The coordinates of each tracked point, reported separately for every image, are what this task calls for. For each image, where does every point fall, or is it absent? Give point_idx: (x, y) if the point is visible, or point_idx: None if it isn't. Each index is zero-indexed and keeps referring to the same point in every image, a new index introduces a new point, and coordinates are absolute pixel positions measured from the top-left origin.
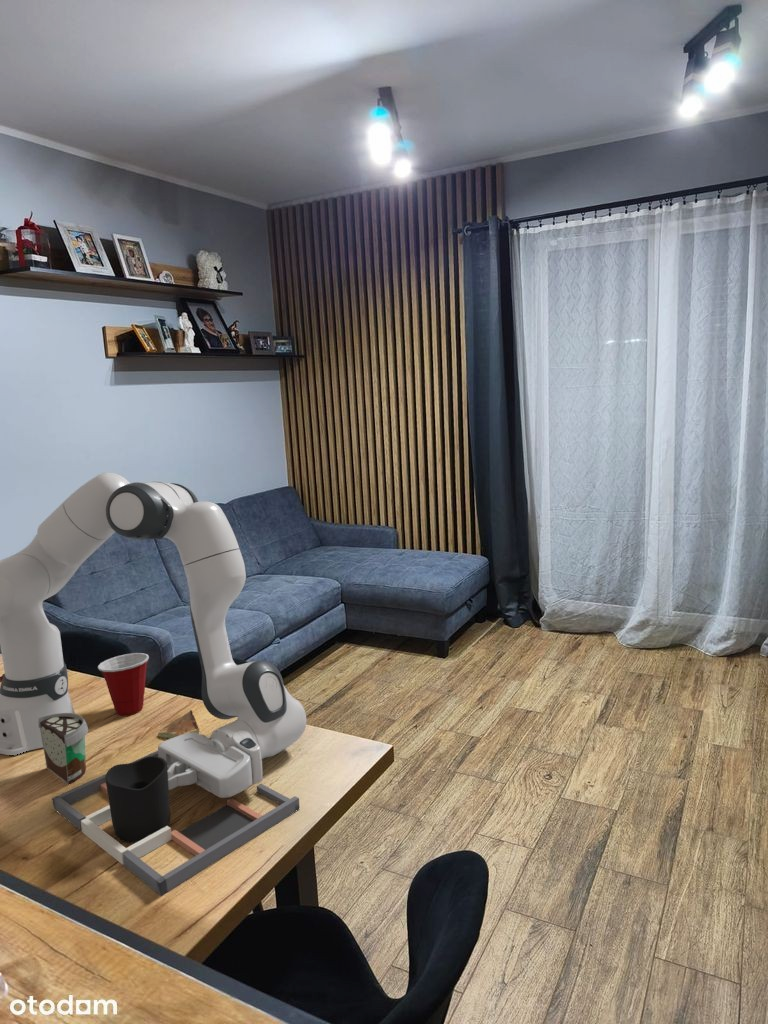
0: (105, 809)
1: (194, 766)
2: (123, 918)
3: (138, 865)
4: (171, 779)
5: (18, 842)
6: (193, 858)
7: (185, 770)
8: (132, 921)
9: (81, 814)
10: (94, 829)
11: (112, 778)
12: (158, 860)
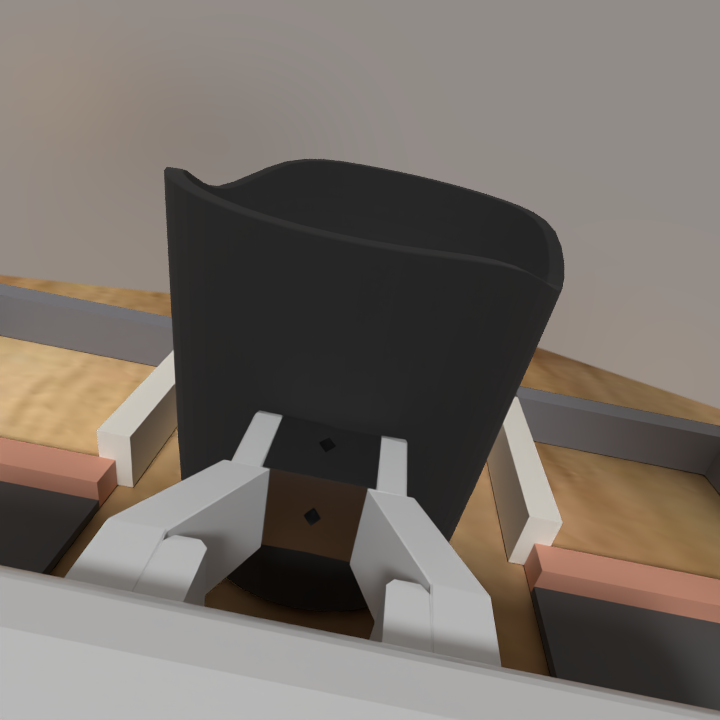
0: (514, 438)
1: (67, 581)
2: (63, 282)
3: (103, 304)
4: (251, 428)
5: (563, 365)
6: None
7: (205, 547)
8: (31, 280)
9: (542, 400)
10: None
11: (464, 231)
12: (88, 397)
